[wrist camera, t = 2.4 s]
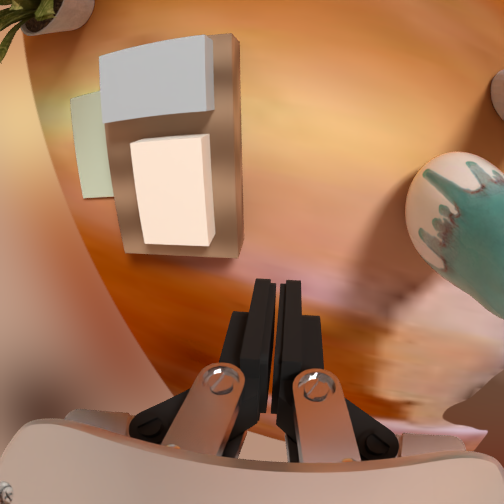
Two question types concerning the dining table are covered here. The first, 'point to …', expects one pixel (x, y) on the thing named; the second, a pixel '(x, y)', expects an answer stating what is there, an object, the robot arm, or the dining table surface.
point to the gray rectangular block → (157, 79)
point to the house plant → (42, 17)
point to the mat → (91, 146)
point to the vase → (461, 224)
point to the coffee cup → (498, 93)
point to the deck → (221, 151)
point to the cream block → (174, 189)
